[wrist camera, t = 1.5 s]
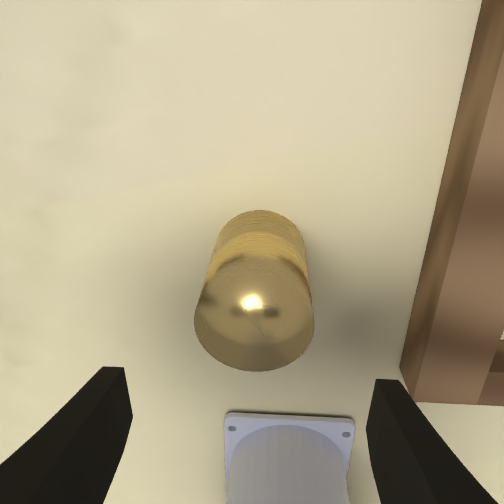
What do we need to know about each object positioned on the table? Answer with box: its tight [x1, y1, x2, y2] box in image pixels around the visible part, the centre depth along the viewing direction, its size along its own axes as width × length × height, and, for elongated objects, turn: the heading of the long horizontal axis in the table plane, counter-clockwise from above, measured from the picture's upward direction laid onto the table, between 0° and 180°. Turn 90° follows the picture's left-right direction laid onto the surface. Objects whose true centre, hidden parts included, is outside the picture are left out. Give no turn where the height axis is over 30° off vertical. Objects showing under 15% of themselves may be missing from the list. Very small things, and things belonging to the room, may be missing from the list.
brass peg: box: [194, 210, 314, 371], centre depth 18 cm, size 4×4×6 cm
